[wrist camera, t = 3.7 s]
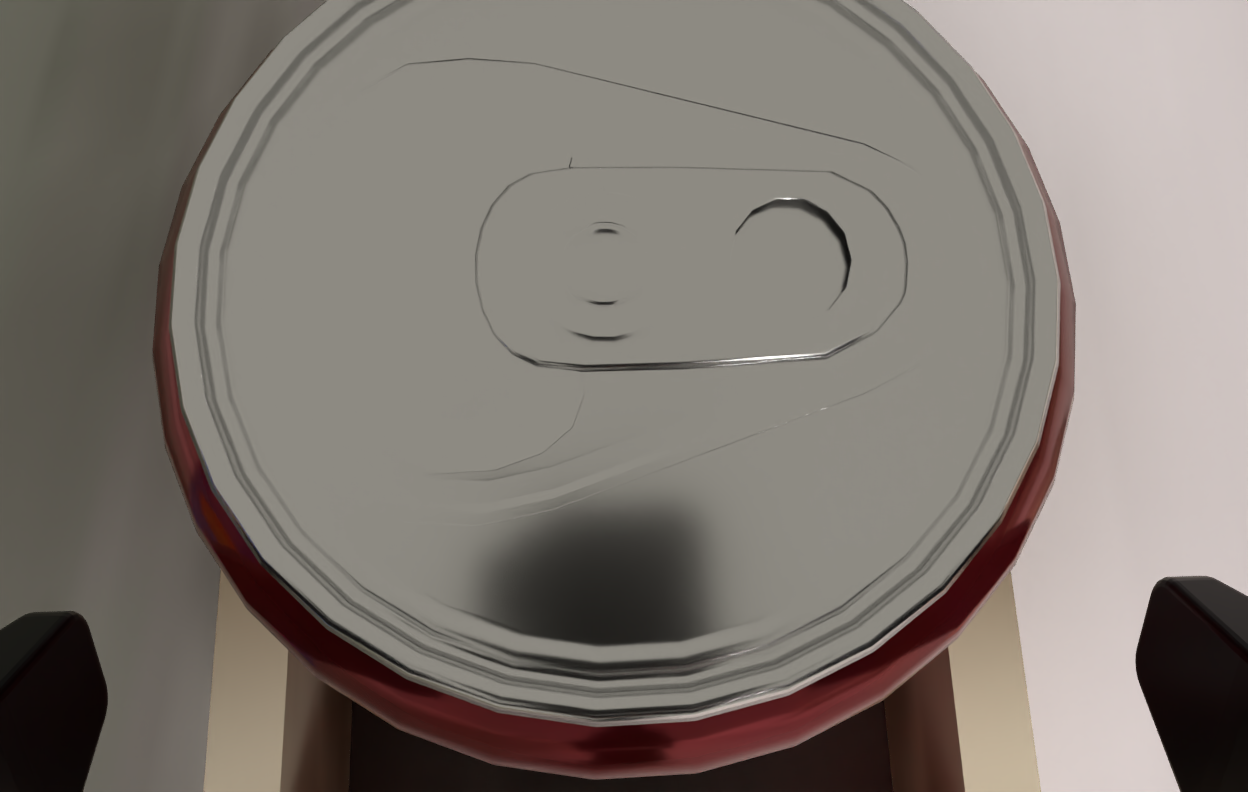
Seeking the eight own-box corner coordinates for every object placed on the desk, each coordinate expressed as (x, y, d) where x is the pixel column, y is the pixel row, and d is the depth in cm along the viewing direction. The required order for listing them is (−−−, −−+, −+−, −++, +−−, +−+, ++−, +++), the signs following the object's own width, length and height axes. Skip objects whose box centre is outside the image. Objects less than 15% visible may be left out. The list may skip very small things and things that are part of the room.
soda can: (387, 751, 18) (22, 760, 7) (428, 343, 21) (200, -156, 9) (822, 769, 18) (1163, 808, 7) (816, 359, 21) (1071, -121, 9)
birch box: (962, 869, 18) (1056, 902, 14) (281, 895, 18) (192, 934, 14) (891, 252, 21) (951, 144, 18) (317, 266, 21) (252, 160, 17)
